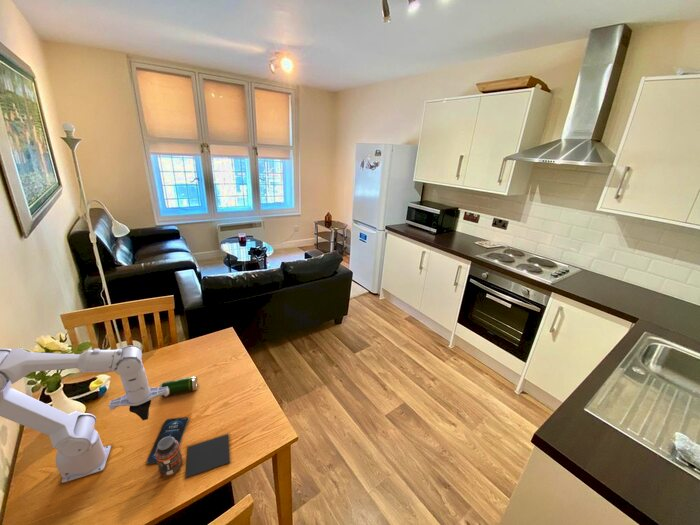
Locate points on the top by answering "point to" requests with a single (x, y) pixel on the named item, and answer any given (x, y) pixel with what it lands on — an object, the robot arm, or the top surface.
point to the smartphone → (169, 434)
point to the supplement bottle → (168, 456)
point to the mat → (207, 455)
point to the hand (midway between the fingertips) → (145, 417)
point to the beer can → (180, 386)
